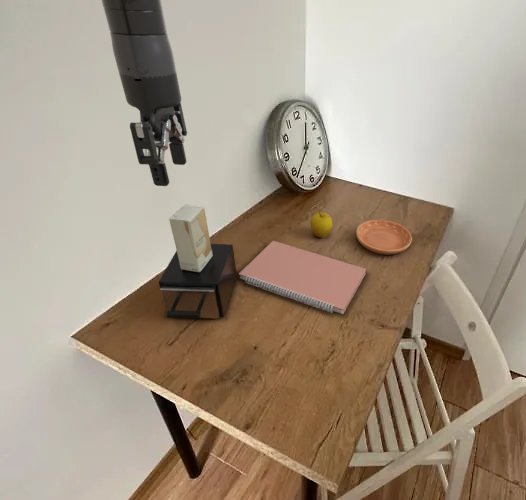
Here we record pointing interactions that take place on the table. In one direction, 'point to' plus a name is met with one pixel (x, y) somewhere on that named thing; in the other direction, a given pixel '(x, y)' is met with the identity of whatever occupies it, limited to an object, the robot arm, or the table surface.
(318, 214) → the apple
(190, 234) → the cosmetic box
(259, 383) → the table surface
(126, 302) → the table surface
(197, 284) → the cabinet
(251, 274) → the notebook
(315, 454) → the table surface
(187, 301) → the drawer
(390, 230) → the saucer
